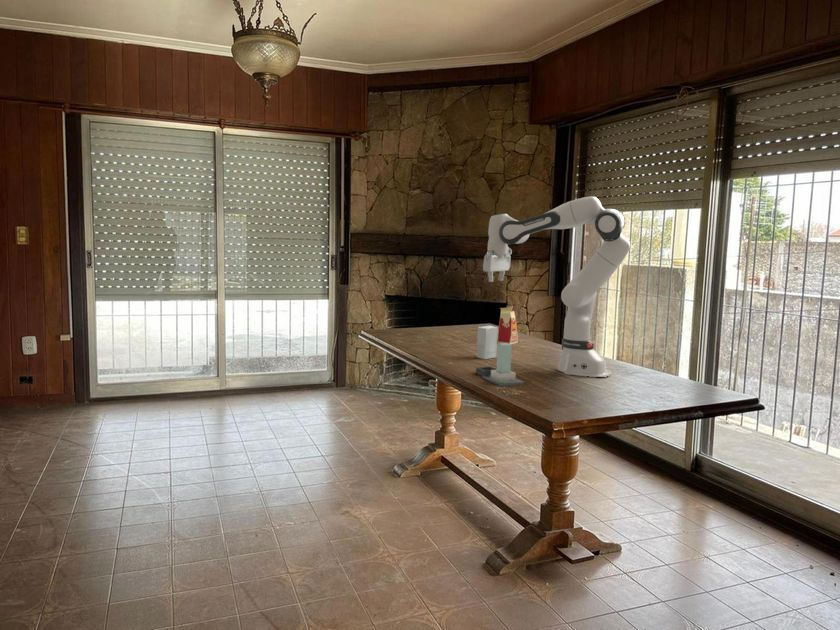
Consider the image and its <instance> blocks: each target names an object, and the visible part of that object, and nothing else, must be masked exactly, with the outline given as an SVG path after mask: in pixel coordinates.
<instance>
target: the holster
mask: <svg viewBox="0 0 840 630" xmlns="http://www.w3.org/2000/svg"><path fill="white" fill-rule="evenodd" d="M496 369H497V367H496V368H495V367H493V366H480V367H479V366H478V367H476V368H475V374H477V375H479V376H481V377H482V376H486V375H491V370H496Z"/></svg>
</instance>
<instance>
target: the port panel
mask: <svg viewBox="0 0 840 630" xmlns="http://www.w3.org/2000/svg"><path fill="white" fill-rule="evenodd" d="M516 375H517V374H516V372H515V371H512V370H510V373H499V372H497V371H496V370H491V375H486V376H481V378H482V379H483V380H486V381H487V382H489V383H491V384H495V385H497V386H499V387H505V386H506V387H507V386H508V387H510V386H519V385H525V381H524V380H521V379H518V378H516Z"/></svg>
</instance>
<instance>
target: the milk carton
mask: <svg viewBox="0 0 840 630" xmlns="http://www.w3.org/2000/svg"><path fill="white" fill-rule="evenodd" d="M513 307H514V306H513V305H512V306H508V307H500V308H499V309H500V314H499V315H500V316H499V324H498V335H497V344H499V343H508V344H511V345H514V344H517V343H518V342H519V341H518V340H519V339H518V327H517V320H516V313H515V310H514V309H513Z"/></svg>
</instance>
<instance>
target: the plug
mask: <svg viewBox="0 0 840 630" xmlns="http://www.w3.org/2000/svg"><path fill="white" fill-rule="evenodd" d="M512 347H513V344H508V343H497V356H496V371H497V372H499V373H510V371H511V367H512V366H511V365H512V364H511V363H512Z"/></svg>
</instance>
